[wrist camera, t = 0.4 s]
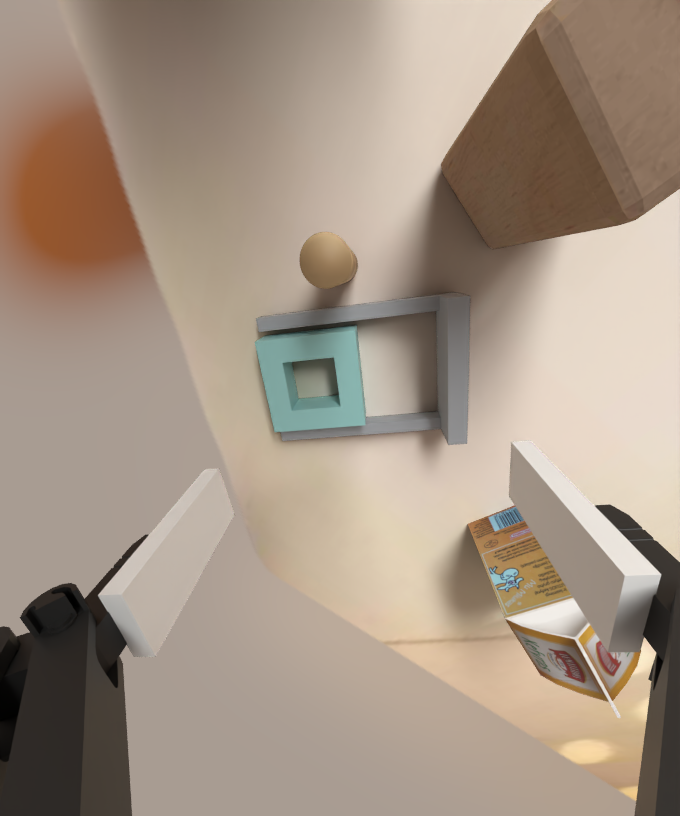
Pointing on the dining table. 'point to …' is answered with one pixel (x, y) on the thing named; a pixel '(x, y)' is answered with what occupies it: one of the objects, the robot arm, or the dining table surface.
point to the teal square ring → (282, 386)
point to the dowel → (327, 260)
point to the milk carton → (546, 611)
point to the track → (449, 363)
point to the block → (575, 124)
